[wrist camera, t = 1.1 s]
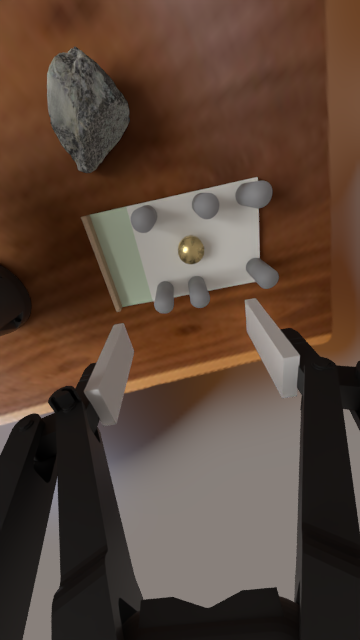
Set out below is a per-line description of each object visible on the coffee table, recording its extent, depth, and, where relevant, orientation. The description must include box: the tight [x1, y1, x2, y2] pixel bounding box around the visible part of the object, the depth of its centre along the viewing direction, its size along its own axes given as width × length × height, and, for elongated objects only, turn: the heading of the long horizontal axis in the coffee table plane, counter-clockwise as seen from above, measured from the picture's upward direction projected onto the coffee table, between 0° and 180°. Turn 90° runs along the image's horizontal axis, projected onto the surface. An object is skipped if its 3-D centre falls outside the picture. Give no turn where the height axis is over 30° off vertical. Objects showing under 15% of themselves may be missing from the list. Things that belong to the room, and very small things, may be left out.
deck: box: [81, 177, 279, 313], centre depth 38 cm, size 29×17×8 cm, turn 101°
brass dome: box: [178, 235, 204, 264], centre depth 39 cm, size 4×4×2 cm
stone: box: [47, 47, 130, 173], centre depth 29 cm, size 10×10×10 cm
